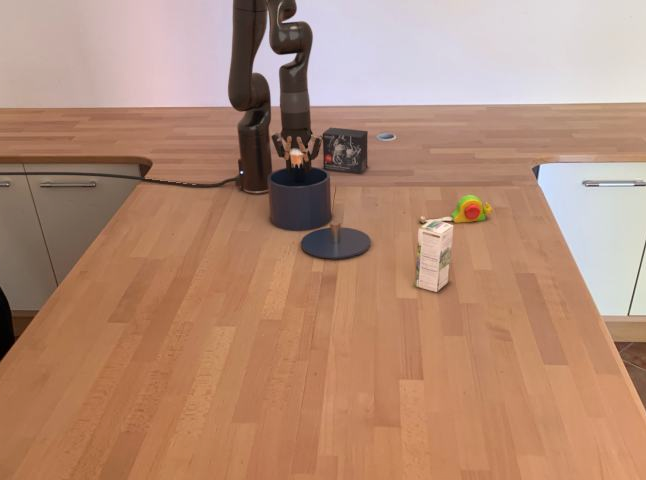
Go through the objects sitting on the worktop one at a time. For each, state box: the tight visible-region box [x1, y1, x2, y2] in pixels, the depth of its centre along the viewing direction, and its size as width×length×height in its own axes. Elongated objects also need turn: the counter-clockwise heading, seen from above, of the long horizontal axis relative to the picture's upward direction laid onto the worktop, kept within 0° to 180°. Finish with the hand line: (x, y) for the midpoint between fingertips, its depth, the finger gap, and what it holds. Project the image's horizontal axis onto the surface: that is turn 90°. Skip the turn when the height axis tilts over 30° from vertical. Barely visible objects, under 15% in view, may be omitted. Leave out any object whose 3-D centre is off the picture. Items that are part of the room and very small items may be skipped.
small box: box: [322, 127, 369, 175], centre depth 225 cm, size 13×7×12 cm, turn 68°
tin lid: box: [300, 220, 371, 260], centre depth 178 cm, size 18×18×6 cm
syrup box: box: [414, 220, 454, 293], centre depth 157 cm, size 6×6×14 cm
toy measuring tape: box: [419, 194, 493, 224], centre depth 189 cm, size 6×19×7 cm, turn 95°
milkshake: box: [289, 145, 310, 183], centre depth 187 cm, size 4×5×10 cm
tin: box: [267, 166, 332, 232], centre depth 192 cm, size 17×17×12 cm
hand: (299, 173), depth 188 cm, fingers closed on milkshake, 4 cm apart
